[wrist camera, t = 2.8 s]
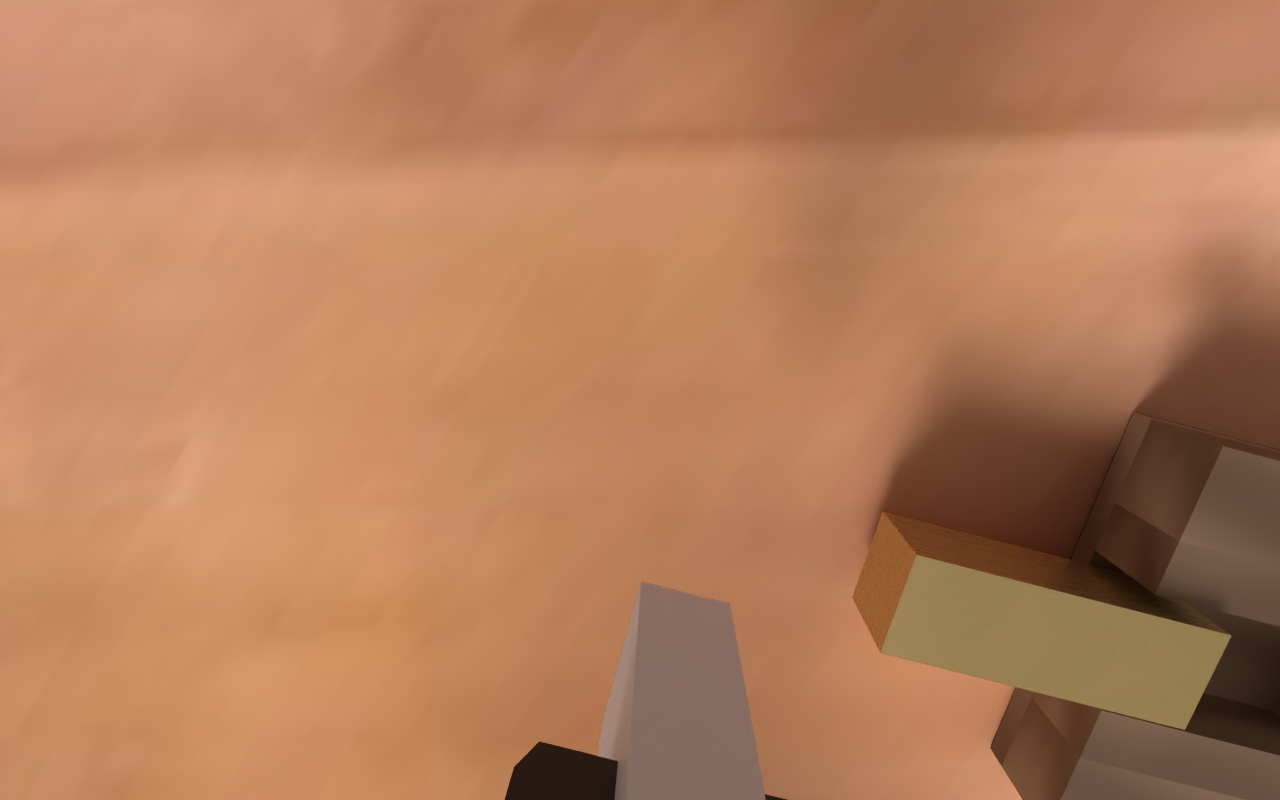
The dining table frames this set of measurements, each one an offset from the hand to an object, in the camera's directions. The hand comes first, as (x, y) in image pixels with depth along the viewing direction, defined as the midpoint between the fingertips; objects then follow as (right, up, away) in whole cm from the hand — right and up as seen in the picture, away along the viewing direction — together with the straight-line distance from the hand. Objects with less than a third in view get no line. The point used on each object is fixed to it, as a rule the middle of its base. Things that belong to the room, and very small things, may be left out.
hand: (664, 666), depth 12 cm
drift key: (+9, 0, +7) cm, 11 cm away
